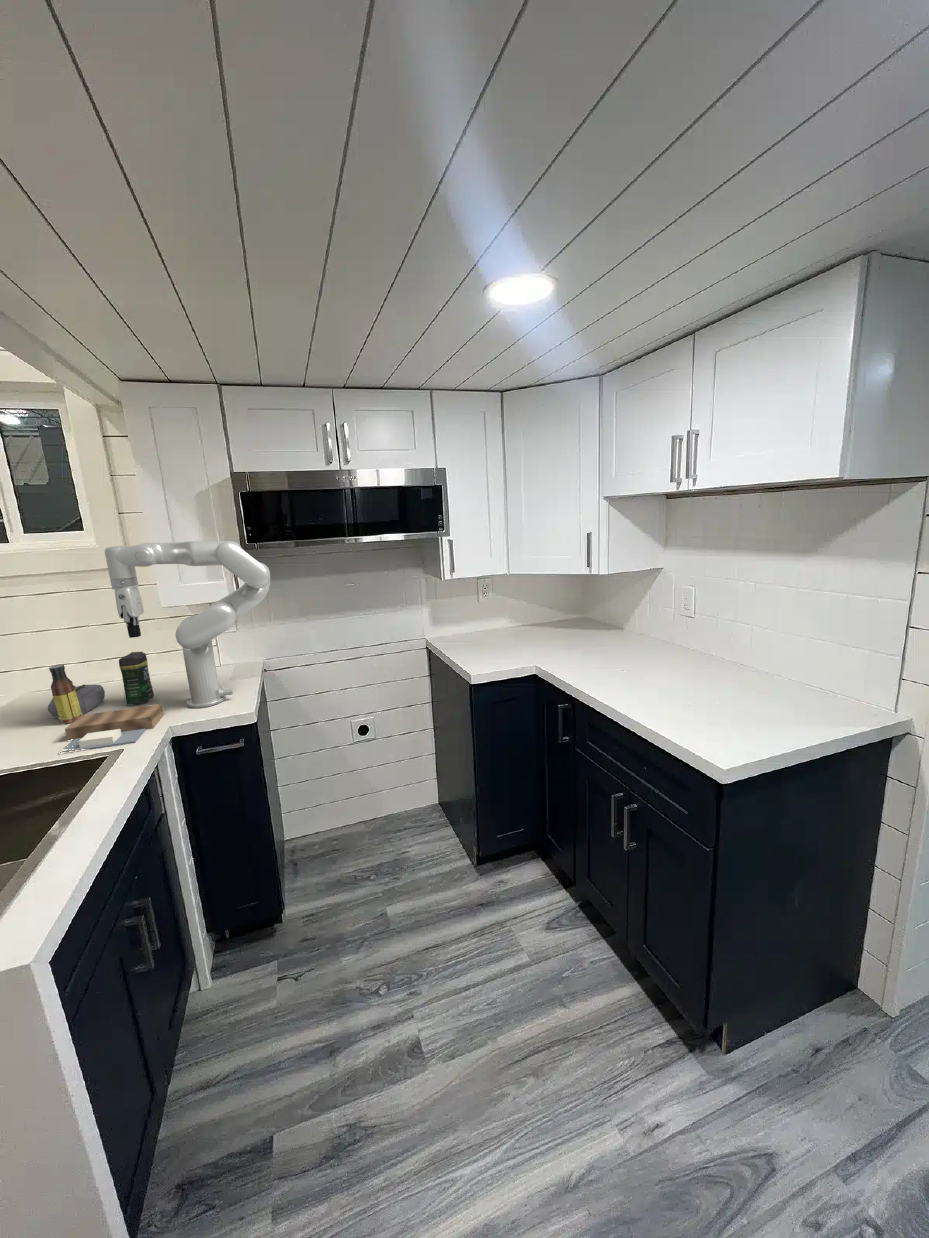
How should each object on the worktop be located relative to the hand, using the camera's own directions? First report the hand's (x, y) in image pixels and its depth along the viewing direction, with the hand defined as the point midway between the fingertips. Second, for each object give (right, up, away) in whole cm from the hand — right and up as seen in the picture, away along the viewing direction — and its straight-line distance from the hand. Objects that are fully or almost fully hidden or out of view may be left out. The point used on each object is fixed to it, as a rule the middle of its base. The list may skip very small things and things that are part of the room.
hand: (135, 636), depth 177 cm
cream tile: (+1, -29, -19) cm, 35 cm away
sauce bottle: (-23, -29, +1) cm, 37 cm away
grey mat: (+2, -31, -18) cm, 36 cm away
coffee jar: (-9, -25, +17) cm, 31 cm away
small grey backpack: (-29, -27, +13) cm, 42 cm away
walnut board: (-1, -29, -7) cm, 30 cm away
